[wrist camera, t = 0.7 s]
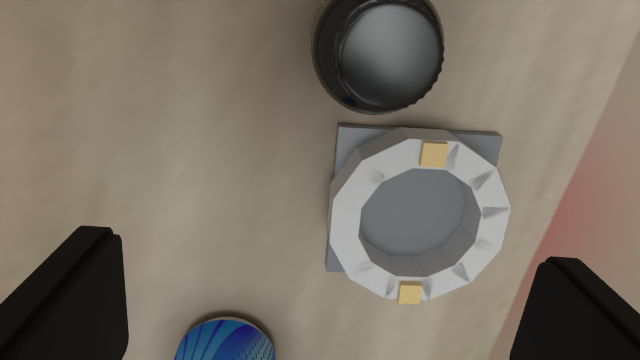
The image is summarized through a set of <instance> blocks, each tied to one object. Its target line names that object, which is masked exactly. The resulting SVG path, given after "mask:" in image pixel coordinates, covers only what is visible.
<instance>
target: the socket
mask: <svg viewBox="0 0 640 360" xmlns="http://www.w3.org/2000/svg"><path fill="white" fill-rule="evenodd" d="M502 139H503V136H501V135H500V134H498V133H491V132H473V131H456V130H440V129H423V128H406V127H388V126H371V125H354V124H338V126H337V138H336V150H335V161H334V173H333V181H332V182H331V183H330V196H329V208H328V220H327V227H328V243H327V254H326V271H331V272H346V274H347V275H348V277H349V279H351V280H353V281H355V282H357V283H358V284H360V285H362V286H364V287H365V288H367V289H369V290H371V291H373V292H374V293H376V294H378V295H380V296H382V297H383V298H385V299H397V301H398V303H402V304H420V300H430V299H433V298H435V297H437V296H440V295H442V294H445V293H447V292H449V291H452V290H454V289H457V288H459V287H461V286H464V285H466V284H469V283H471V282H472V281H473V279H474V278H475V277H476V276H477V275H478V274H479V273H480V272H481V271H482V270H483V269H484V267H485V266H486V265H487V264H488V263H489V262H490V261H491V260H492V259H493V258H494V257H495V255H496V254H497V253H498V252H499V251H500V250H501V246H502V242H503V238H504V234H505V230H506V226H507V222H508V218H509V214H510V210H511V207H510V204H509V201H508V198H507V195H506V193H505V190H504V187H503V184H502V182H501V179H500V176H499V173H498V170H497V168H496V165H497V160H498V156H499V152H500V147H501V143H502Z"/></svg>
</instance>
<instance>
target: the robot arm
mask: <svg viewBox="0 0 640 360" xmlns="http://www.w3.org/2000/svg"><path fill="white" fill-rule="evenodd" d="M128 339H129V332H128V319H127V306H126V293H125V279H124V266H123V253H122V241H121V237H120V236H119V235H116V234H113V231H112V229H111V228H110V227H96V226H80V227H78V228H77V229H76V230H75V231H74V232H73V233H72V234H71V235H70V236H69V237H68V238H67V239H66V240H65V241H64V242H63V243H62V244H61V245H60V246H59V247H58V248H57V249H56V250H55V251H54V252H53V253H52V254H51V255H50V256H49V257H48V258H47V259H46V260H45V261H44V262H43V263H42V264H41V265H40V266H39V267H38V268H37V269H36V270H35V271H34V272H33V273H32V274H31V275H30V276H29V277H28V278H27V279H26V280H25V281H24V282H23V283H21V284H20V285H19V286H18V287H17V288H16V289H15V290H14V291H13V292H12V293H11V294H10V295H9V296H8V297H7V298H6V299H5V300H4V301H3V302H2V303H1V304H0V360H122V358H123V356H124V354H125V352H126V349H127V345H128ZM510 360H640V314H639V313H638V312H637V311H636V310H634V309H633V308H632V307H631V306H630V305H629V304H628V303H627V302H626V301H625V300H624V299H622V298H621V297H620V296H619V295H618V294H617V293H616V292H615V291H613V289H611V288H610V287H609V286H608V285H607V284H606V283H605V282H604V281H603V280H602V279H600V278H599V277H598V276H597V275H596V274H595V273H594V272H593V271H592V270H591V269H589V268H588V267H587V266H586V265H585V264H584V263H583V262H582V261H581V260H579V259H577V258H567V257H566V258H565V257H549V258H547V260H546V261H545V262H542V263H541V264H539V266H538V268H537V271H536V274H535V277H534V280H533V283H532V286H531V289H530V293H529V296H528V299H527V302H526V305H525V308H524V311H523V315H522V318H521V321H520V324H519V327H518V330H517V333H516V337H515V340H514V343H513V346H512V349H511V352H510Z"/></svg>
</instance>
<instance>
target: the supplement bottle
mask: <svg viewBox="0 0 640 360" xmlns="http://www.w3.org/2000/svg"><path fill="white" fill-rule="evenodd" d="M311 50H312V60H313V65H314V69H315V72H316V74H317V77H318V79H319V81H320V83H321V84H322V86H323V87H324V89H325V90H326V92H327V93H328V94H329V95H330V96H331V97H332V98H333V99H334V100H335V101H336V102H338V103H339V104H341V105H342V106H344V107H346V108H347V109H349V110H352V111H355V112H358V113H362V114H368V115H381V114H388V113H392V112H395V111H398V110H401V109H403V108H407V107H408V106H409V105H411V104H415V103H416V102H417V101H418V100H419V99H421V98H423V97H424V96H425V94H426V92H428V91H430V90H431V89H432V86H433V84H434V83H435V82H436V81H437V79H438V74H439V73H440V72H441V70H442V66H441V65H442V63H443V61H444V57H443V53H444V33H443V28H442V24H441V20H440V18H439V15H438V13H437V11H436V9H435V7H434V6H433V4H432V3H431V1H430V0H327V1H326V2H325V3H324V4H323V6H322V7H321V8H320V10H319V12H318V14H317V16H316V18H315V21H314V24H313V28H312V35H311Z"/></svg>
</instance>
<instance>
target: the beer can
mask: <svg viewBox="0 0 640 360" xmlns="http://www.w3.org/2000/svg"><path fill="white" fill-rule="evenodd" d="M174 360H275V352H274V349H273V346H272V344H271V342H270V341H269V339H268V338H267V337H266V336H265V334H263V333H262V332H261V331H260V329H259V328H257V327H256V326H255V325H254V324H252V323H250V322H248V321H246V320H244V319H241V318H237V317H218V318H214V319H211V320H208V321H206V322H204V323H202V324H200V325H198V326H196V327H194V328H193V329H191V330H190V331H189V332H188V333H187V334H186V335H185V336H184V338H183V339H182V341H181V342H180V344H179V347H178V350H177V352H176V355H175V358H174Z"/></svg>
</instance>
